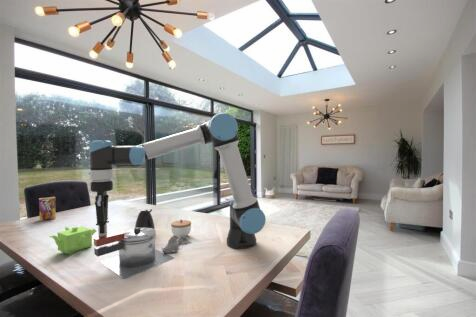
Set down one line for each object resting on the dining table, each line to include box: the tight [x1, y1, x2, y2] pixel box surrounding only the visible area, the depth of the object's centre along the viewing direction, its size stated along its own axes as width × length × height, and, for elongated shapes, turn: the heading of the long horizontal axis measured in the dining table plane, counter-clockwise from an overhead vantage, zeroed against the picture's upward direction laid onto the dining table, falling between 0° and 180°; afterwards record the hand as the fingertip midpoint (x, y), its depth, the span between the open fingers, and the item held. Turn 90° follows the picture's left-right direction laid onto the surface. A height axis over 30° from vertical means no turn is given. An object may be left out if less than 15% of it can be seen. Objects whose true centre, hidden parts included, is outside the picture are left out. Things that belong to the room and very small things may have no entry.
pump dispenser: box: [134, 208, 156, 230], centre depth 132 cm, size 10×10×15 cm
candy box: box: [38, 196, 57, 222], centre depth 169 cm, size 9×4×15 cm, turn 127°
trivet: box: [99, 248, 175, 280], centre depth 102 cm, size 22×22×1 cm
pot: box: [93, 235, 156, 268], centre depth 98 cm, size 23×15×10 cm, turn 141°
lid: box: [93, 227, 157, 248], centre depth 98 cm, size 23×15×3 cm, turn 138°
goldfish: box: [161, 235, 192, 255], centre depth 117 cm, size 20×10×9 cm
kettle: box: [48, 226, 97, 256], centre depth 114 cm, size 15×14×11 cm
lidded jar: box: [170, 219, 192, 238], centre depth 133 cm, size 11×11×9 cm
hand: (102, 240), depth 94 cm, fingers closed
